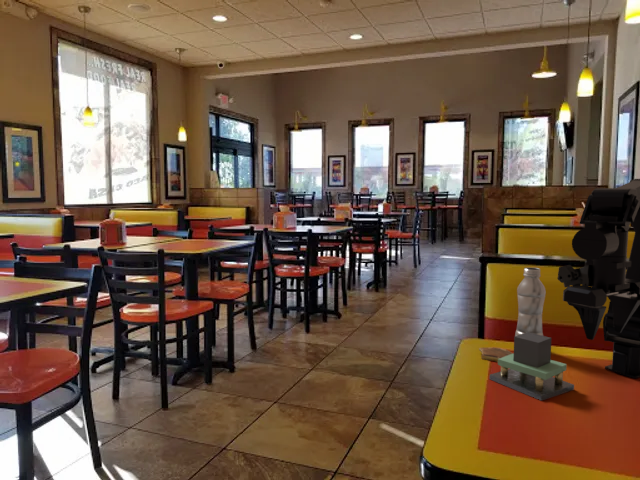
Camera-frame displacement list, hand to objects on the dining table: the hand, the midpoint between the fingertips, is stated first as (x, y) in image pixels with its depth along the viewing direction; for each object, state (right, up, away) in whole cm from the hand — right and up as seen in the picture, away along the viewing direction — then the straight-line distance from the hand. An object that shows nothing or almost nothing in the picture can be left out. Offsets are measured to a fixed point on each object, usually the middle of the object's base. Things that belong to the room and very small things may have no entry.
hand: (604, 335), depth 94 cm
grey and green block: (-12, -7, +4) cm, 15 cm away
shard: (-12, -10, +20) cm, 25 cm away
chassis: (-12, -11, +4) cm, 17 cm away
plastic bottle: (-4, -9, +25) cm, 27 cm away
